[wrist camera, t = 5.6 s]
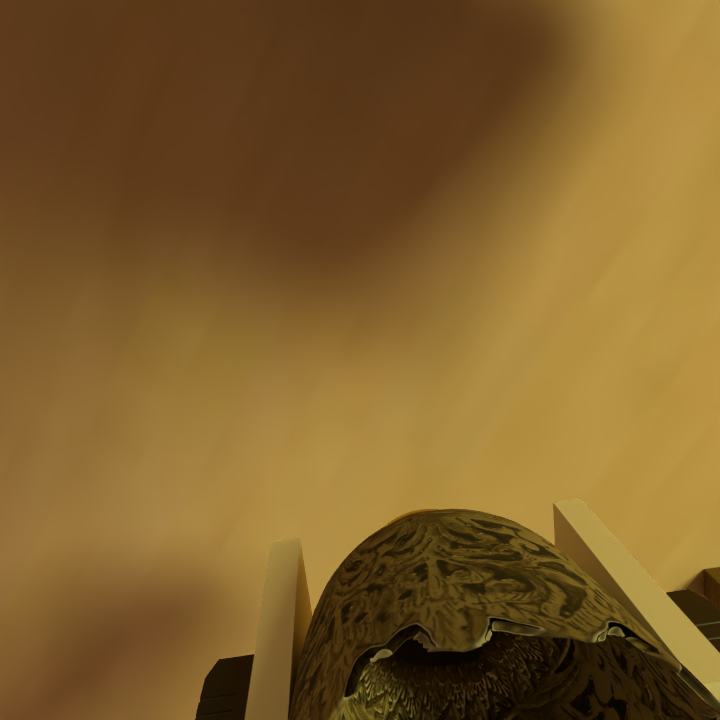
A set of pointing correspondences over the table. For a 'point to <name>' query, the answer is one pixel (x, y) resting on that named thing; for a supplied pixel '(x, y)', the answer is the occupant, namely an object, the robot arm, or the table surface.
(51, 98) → the table surface
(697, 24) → the table surface
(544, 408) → the table surface
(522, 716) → the dark piece
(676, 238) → the table surface
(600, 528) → the robot arm
